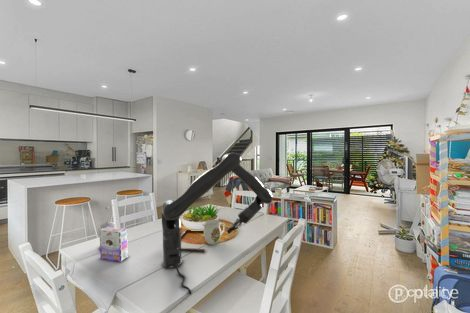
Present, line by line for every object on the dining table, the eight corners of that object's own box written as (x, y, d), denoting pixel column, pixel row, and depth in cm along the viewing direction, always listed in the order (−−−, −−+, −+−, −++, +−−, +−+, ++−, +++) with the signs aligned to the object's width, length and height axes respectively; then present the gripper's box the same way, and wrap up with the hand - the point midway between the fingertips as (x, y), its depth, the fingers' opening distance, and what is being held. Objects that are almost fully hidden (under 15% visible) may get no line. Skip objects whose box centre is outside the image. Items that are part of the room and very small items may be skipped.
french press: (109, 251, 129) (108, 209, 128) (92, 249, 131) (91, 208, 130) (121, 243, 139) (120, 205, 137) (105, 242, 141) (104, 204, 140)
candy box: (128, 257, 122) (127, 228, 121) (120, 262, 116) (119, 232, 116) (108, 254, 126) (107, 225, 125) (99, 259, 120) (98, 229, 119)
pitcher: (229, 240, 142) (229, 220, 142) (206, 249, 131) (206, 226, 130) (220, 235, 151) (220, 216, 150) (197, 243, 139) (196, 221, 139)
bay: (215, 232, 155) (215, 230, 155) (204, 252, 127) (204, 250, 127) (186, 231, 159) (186, 229, 159) (168, 249, 130) (168, 247, 130)
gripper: (244, 206, 143) (225, 224, 146) (241, 212, 130) (221, 232, 133) (252, 215, 143) (233, 232, 145) (250, 222, 130) (230, 241, 132)
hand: (228, 232), depth 139 cm, fingers closed
